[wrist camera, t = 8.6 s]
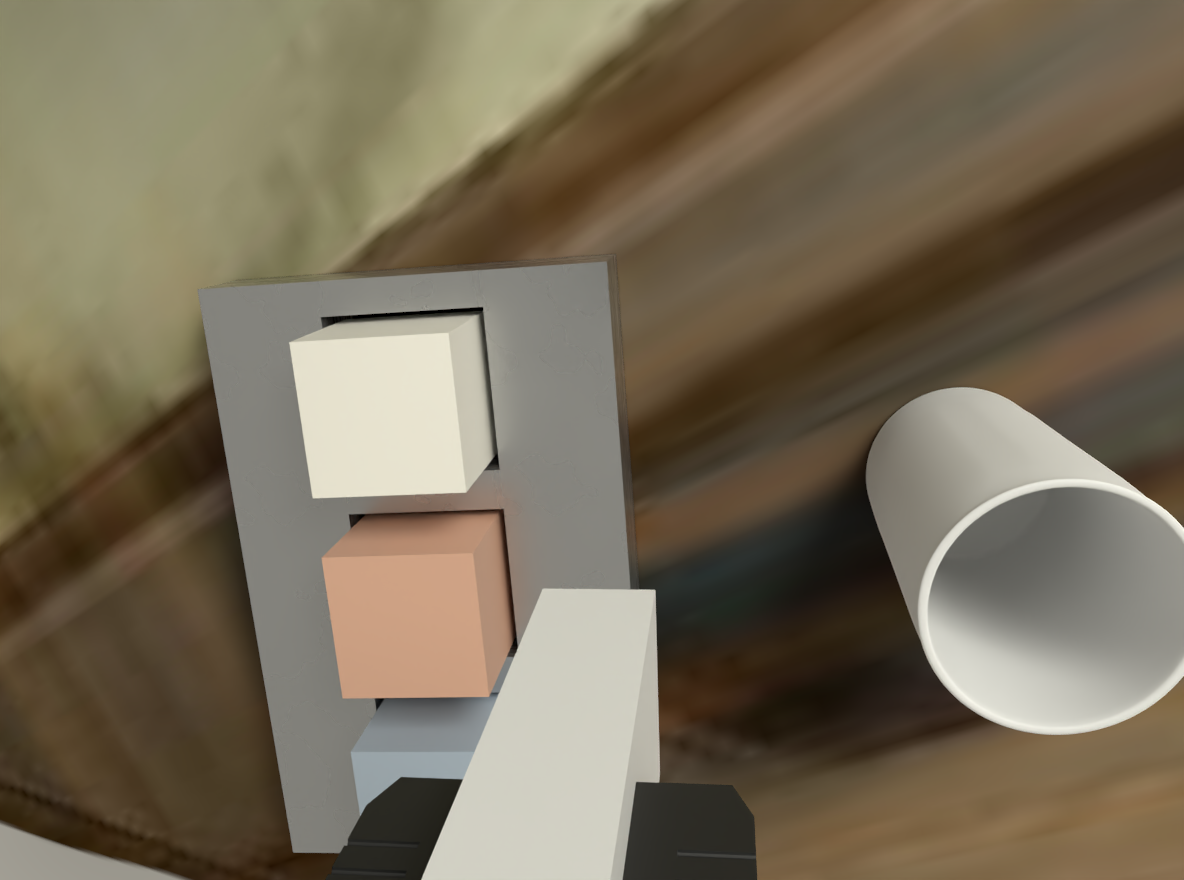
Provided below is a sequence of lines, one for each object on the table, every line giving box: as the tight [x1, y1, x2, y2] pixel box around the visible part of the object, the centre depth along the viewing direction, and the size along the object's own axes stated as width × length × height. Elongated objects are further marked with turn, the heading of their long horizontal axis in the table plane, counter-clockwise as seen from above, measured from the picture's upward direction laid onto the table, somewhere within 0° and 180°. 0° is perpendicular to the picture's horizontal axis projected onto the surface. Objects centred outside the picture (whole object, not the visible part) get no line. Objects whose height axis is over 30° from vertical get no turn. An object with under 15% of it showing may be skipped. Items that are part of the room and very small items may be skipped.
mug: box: [866, 387, 1184, 735], centre depth 31 cm, size 10×7×12 cm, turn 74°
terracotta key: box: [322, 509, 517, 699], centre depth 36 cm, size 5×5×5 cm
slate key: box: [351, 693, 499, 816], centre depth 38 cm, size 5×5×5 cm
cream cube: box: [289, 311, 498, 498], centre depth 34 cm, size 5×5×5 cm
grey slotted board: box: [198, 254, 639, 853], centre depth 38 cm, size 22×14×3 cm, turn 5°
